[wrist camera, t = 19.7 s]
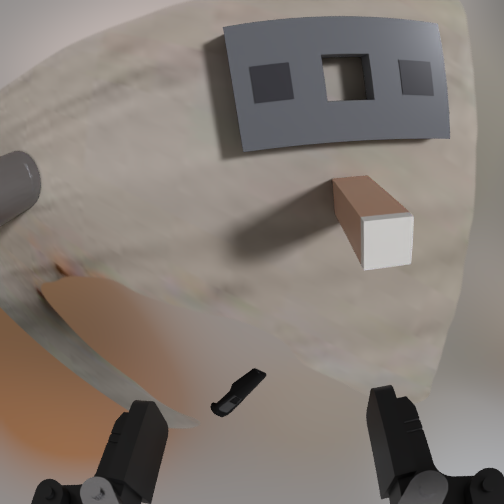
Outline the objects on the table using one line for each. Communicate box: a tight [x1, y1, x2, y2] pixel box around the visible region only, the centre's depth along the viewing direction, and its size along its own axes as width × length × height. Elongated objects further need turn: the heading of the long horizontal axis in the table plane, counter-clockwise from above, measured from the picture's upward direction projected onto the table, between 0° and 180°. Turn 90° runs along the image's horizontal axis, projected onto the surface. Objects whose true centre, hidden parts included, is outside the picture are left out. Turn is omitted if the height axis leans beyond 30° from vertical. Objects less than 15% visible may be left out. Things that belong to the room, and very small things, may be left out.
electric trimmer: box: [211, 368, 266, 417], centre depth 53 cm, size 4×16×3 cm, turn 147°
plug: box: [332, 176, 414, 270], centre depth 31 cm, size 4×4×14 cm
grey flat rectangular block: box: [223, 16, 450, 152], centre depth 30 cm, size 24×14×3 cm, turn 98°
